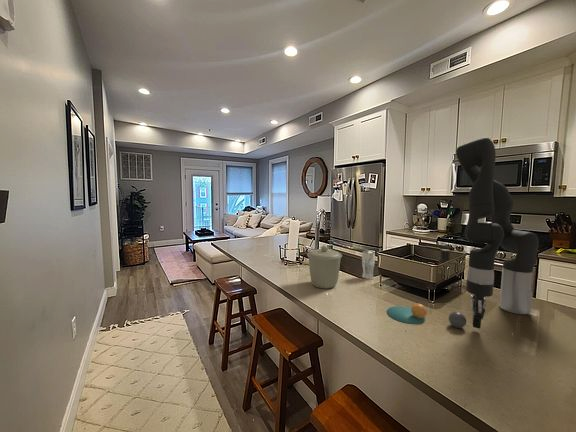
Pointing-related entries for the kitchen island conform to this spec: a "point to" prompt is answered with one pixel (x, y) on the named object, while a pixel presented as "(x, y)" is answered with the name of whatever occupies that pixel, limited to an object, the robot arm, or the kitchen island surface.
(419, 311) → the object ball
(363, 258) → the beer glass
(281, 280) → the kitchen island surface
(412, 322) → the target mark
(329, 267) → the canister
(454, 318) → the blue-grey ball
